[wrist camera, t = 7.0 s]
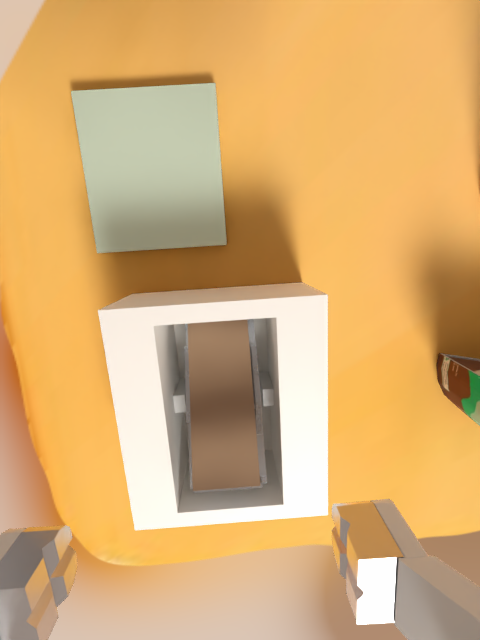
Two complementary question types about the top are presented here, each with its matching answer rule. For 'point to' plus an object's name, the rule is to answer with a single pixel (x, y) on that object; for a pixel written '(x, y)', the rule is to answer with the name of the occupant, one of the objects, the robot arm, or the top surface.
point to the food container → (461, 382)
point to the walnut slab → (222, 406)
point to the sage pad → (152, 166)
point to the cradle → (256, 407)
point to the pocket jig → (170, 401)
